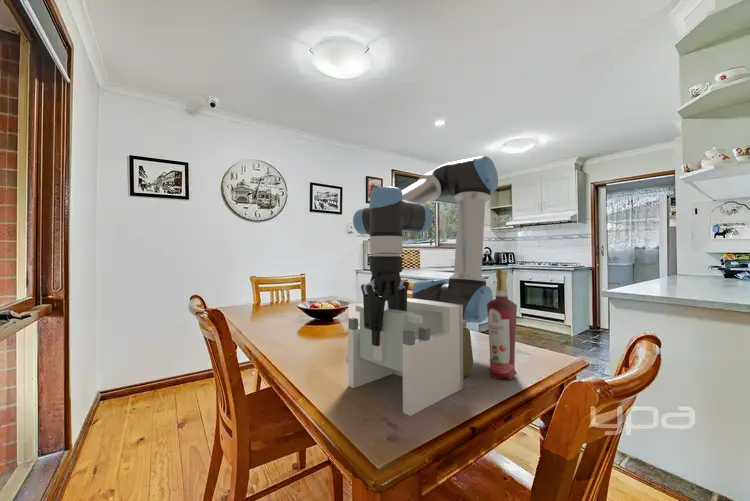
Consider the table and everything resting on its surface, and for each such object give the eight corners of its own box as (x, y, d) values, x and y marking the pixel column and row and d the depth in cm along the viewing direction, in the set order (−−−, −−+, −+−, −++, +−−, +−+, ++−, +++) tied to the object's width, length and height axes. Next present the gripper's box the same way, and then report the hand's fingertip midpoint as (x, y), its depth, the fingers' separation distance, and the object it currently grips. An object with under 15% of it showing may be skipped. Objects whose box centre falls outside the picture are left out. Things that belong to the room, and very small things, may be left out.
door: (363, 350, 82) (363, 304, 82) (427, 372, 67) (426, 314, 67) (351, 354, 79) (351, 305, 79) (414, 377, 64) (414, 317, 64)
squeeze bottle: (436, 370, 88) (436, 305, 88) (460, 366, 91) (459, 303, 91) (454, 381, 80) (454, 310, 81) (480, 376, 84) (479, 308, 84)
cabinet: (401, 366, 91) (401, 296, 91) (463, 388, 77) (462, 304, 77) (348, 385, 78) (348, 304, 78) (410, 416, 63) (409, 315, 64)
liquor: (523, 377, 83) (522, 270, 83) (506, 384, 79) (505, 270, 79) (498, 369, 89) (498, 268, 89) (481, 374, 85) (480, 269, 85)
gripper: (399, 255, 82) (399, 346, 82) (346, 255, 70) (346, 361, 70) (422, 255, 76) (422, 353, 76) (369, 255, 65) (369, 370, 64)
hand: (386, 357), depth 73 cm, fingers closed on door, 4 cm apart
